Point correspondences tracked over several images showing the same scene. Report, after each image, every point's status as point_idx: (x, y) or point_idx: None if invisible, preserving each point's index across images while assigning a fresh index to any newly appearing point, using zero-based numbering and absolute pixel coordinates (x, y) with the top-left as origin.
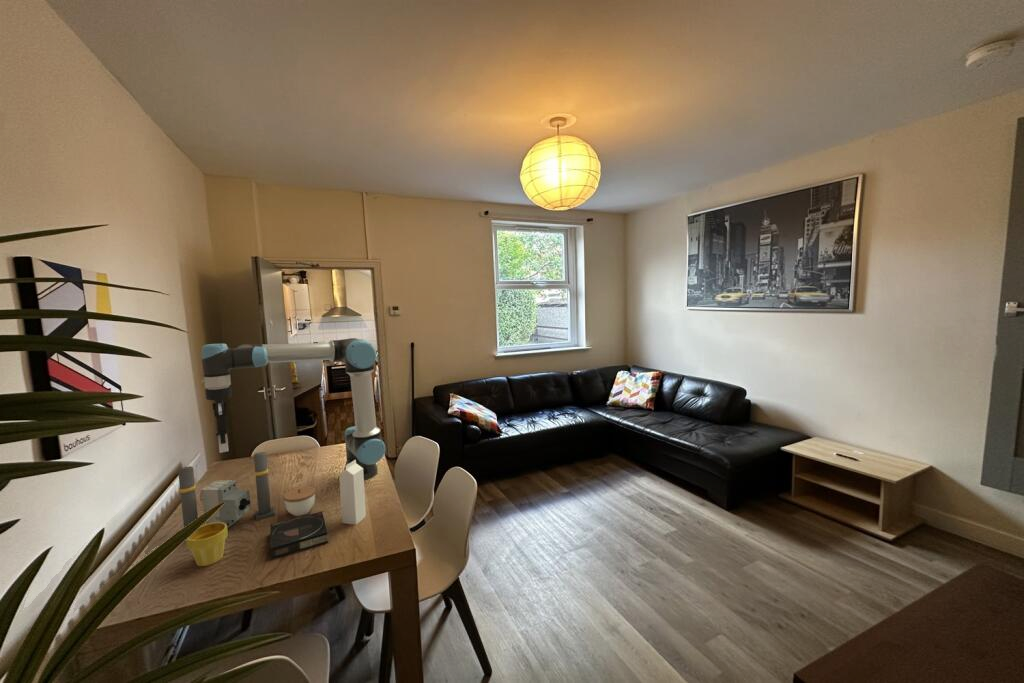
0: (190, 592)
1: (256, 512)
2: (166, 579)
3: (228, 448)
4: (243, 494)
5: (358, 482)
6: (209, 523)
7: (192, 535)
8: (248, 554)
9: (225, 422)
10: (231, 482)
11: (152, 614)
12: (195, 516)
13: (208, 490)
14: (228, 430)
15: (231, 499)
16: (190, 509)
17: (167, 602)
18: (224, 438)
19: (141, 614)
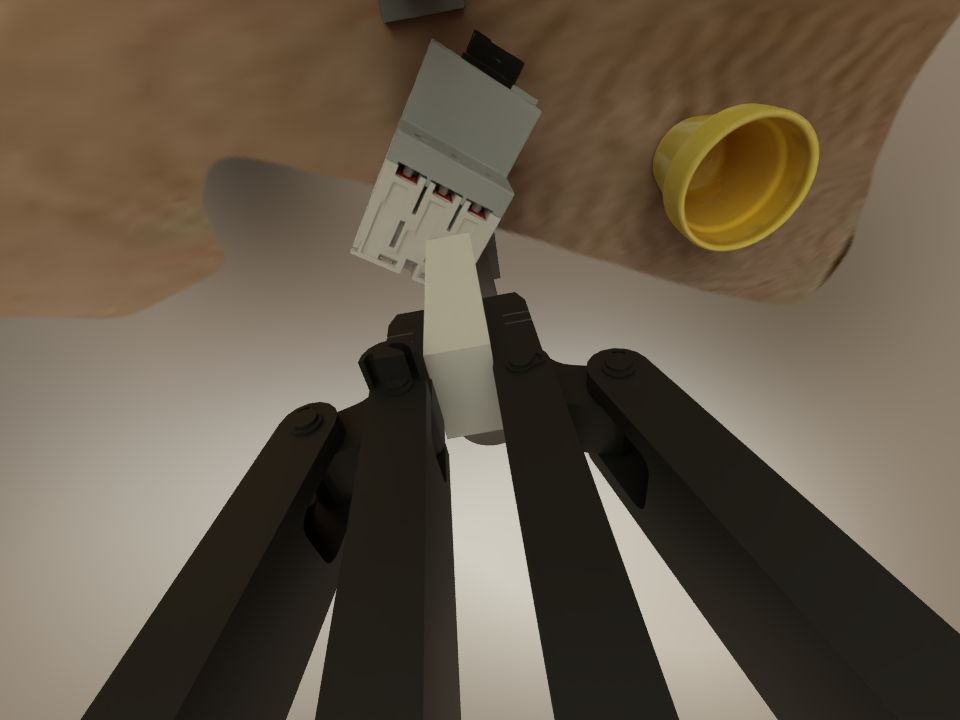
0: (832, 174)
1: (401, 12)
2: (706, 252)
3: (471, 244)
4: (479, 70)
5: None
6: (684, 191)
7: (695, 234)
8: (758, 11)
9: (837, 531)
10: (420, 157)
11: (848, 240)
12: (484, 265)
13: (477, 259)
14: (403, 357)
15: (525, 131)
16: (496, 292)
17: (827, 221)
18: (536, 334)
19: (824, 263)
